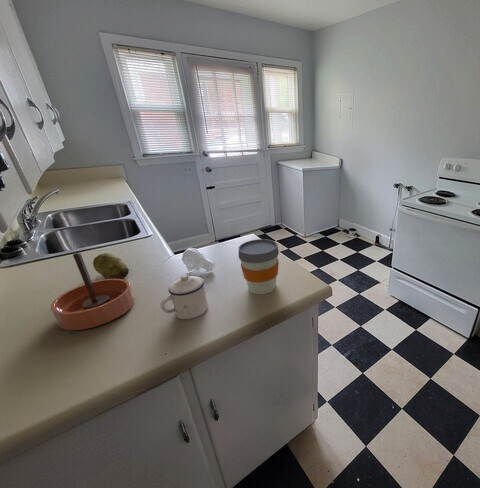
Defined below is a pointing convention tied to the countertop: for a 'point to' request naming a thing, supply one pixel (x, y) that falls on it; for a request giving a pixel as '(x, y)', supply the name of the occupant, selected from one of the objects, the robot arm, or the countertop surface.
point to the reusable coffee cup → (259, 264)
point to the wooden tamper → (89, 286)
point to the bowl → (76, 318)
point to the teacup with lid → (187, 297)
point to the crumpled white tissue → (196, 260)
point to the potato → (110, 266)
